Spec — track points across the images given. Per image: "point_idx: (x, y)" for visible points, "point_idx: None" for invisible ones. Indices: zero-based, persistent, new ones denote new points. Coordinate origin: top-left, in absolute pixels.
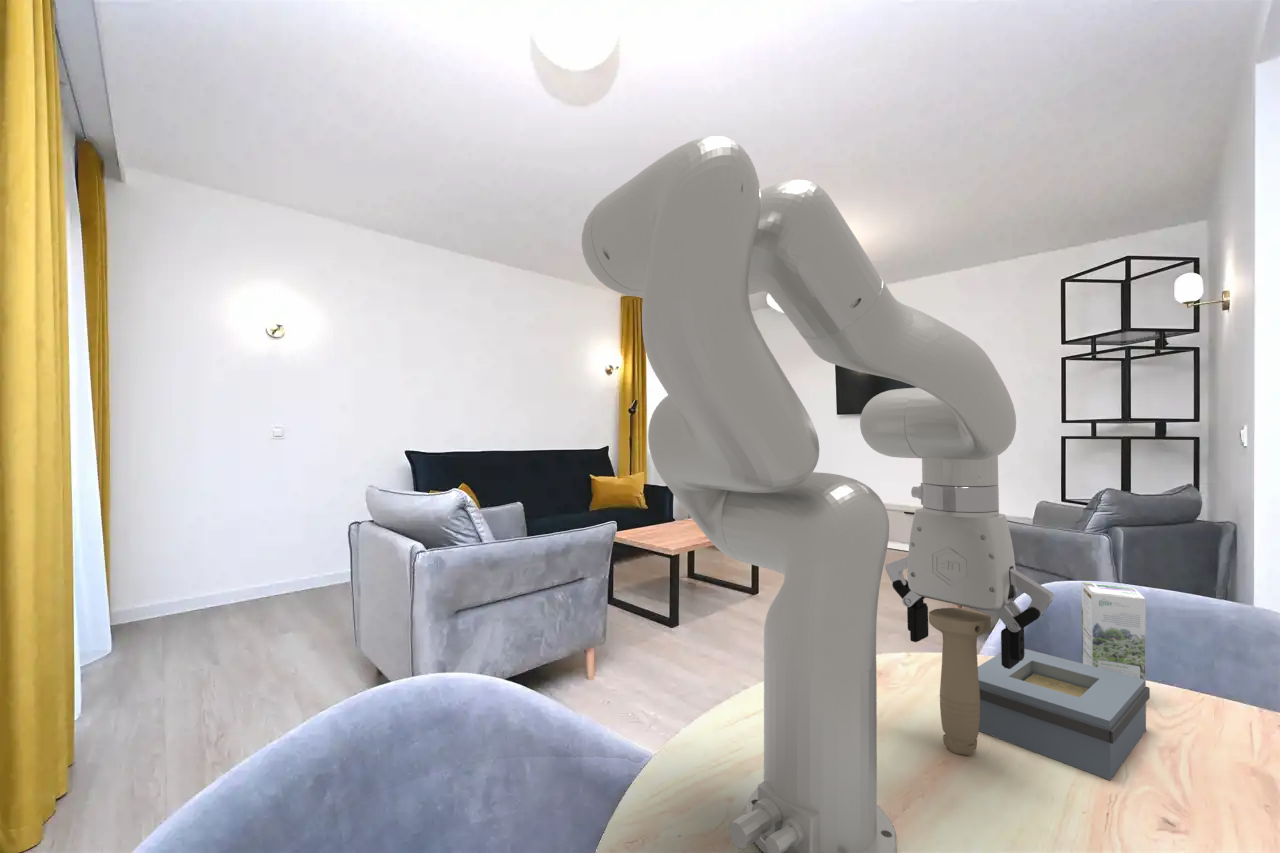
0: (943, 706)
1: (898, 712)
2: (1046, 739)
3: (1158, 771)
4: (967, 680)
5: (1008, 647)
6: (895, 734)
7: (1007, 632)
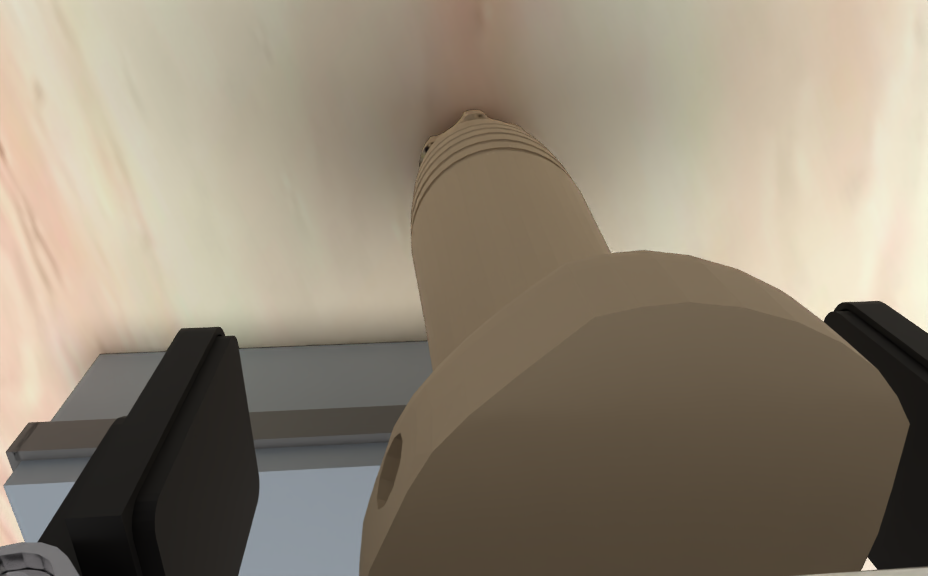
0: (541, 147)
1: (737, 245)
2: (264, 379)
3: None
4: (447, 232)
5: (130, 417)
6: (688, 69)
7: (74, 510)
